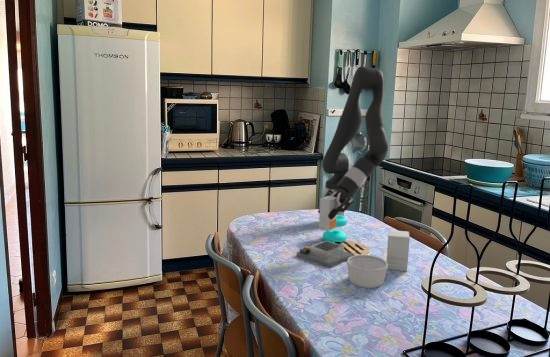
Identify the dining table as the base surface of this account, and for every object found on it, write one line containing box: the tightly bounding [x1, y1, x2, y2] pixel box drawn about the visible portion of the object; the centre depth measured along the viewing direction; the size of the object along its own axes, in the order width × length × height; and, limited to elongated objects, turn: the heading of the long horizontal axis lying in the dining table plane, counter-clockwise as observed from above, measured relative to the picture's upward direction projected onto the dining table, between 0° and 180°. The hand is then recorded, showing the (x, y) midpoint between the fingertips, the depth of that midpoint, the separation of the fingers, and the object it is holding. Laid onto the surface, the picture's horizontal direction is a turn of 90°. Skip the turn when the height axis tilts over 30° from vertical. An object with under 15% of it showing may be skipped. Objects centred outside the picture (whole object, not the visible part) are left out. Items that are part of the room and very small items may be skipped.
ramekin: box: [346, 254, 388, 289], centre depth 154 cm, size 13×13×7 cm
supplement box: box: [386, 229, 411, 272], centre depth 166 cm, size 7×7×13 cm
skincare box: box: [318, 196, 337, 232], centre depth 173 cm, size 6×4×12 cm
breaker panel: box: [296, 240, 354, 269], centre depth 175 cm, size 16×14×4 cm
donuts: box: [322, 215, 348, 243], centre depth 194 cm, size 10×10×10 cm
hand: (324, 215), depth 172 cm, fingers closed on skincare box, 6 cm apart
